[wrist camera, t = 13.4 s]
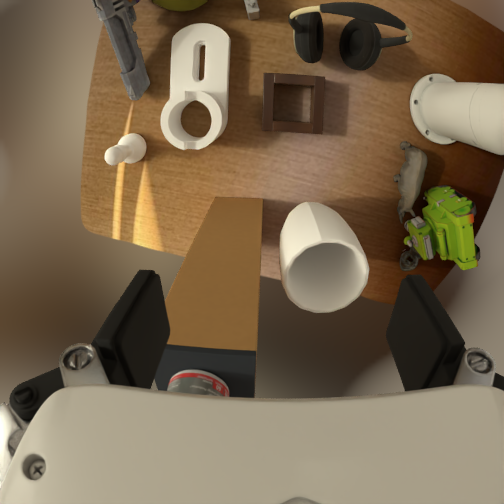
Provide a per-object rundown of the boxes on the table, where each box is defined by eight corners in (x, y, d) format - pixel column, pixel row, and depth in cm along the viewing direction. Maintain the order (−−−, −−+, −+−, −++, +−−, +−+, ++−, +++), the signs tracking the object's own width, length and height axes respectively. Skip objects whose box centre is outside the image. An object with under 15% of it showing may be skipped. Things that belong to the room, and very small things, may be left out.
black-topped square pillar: (263, 198, 51) (256, 356, 20) (261, 242, 55) (253, 416, 24) (215, 197, 51) (144, 346, 21) (216, 240, 55) (163, 407, 24)
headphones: (373, 76, 40) (434, 67, 23) (281, 63, 41) (291, 37, 23) (375, 29, 36) (434, -2, 19) (283, 15, 37) (294, -36, 19)
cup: (281, 242, 55) (287, 323, 35) (268, 186, 50) (269, 244, 31) (338, 232, 53) (373, 307, 34) (330, 175, 48) (370, 225, 29)
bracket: (226, 144, 47) (220, 150, 41) (174, 144, 47) (161, 150, 41) (231, 25, 38) (226, 14, 32) (176, 28, 38) (164, 19, 32)
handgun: (157, 64, 49) (124, 106, 41) (127, -36, 29) (76, -16, 22) (173, 61, 48) (142, 103, 41) (145, -42, 29) (97, -25, 21)
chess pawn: (139, 127, 46) (115, 134, 38) (151, 153, 48) (130, 164, 40) (116, 141, 47) (90, 151, 39) (128, 166, 49) (104, 180, 41)
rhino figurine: (383, 215, 51) (396, 229, 46) (397, 139, 45) (412, 145, 39) (403, 218, 51) (417, 231, 46) (418, 144, 45) (434, 150, 39)
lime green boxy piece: (440, 166, 45) (373, 194, 49) (492, 219, 34) (413, 256, 37) (445, 219, 53) (386, 245, 57) (484, 274, 42) (417, 307, 45)
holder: (321, 78, 41) (325, 77, 38) (318, 132, 45) (322, 134, 42) (263, 74, 42) (263, 72, 38) (262, 128, 46) (262, 130, 43)
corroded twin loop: (392, 261, 55) (394, 263, 54) (418, 229, 52) (420, 231, 51) (407, 273, 56) (409, 276, 55) (432, 243, 53) (434, 245, 52)
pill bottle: (241, 385, 22) (232, 484, 14) (210, 409, 24) (197, 496, 16) (186, 358, 21) (159, 461, 13) (160, 386, 23) (134, 474, 15)
